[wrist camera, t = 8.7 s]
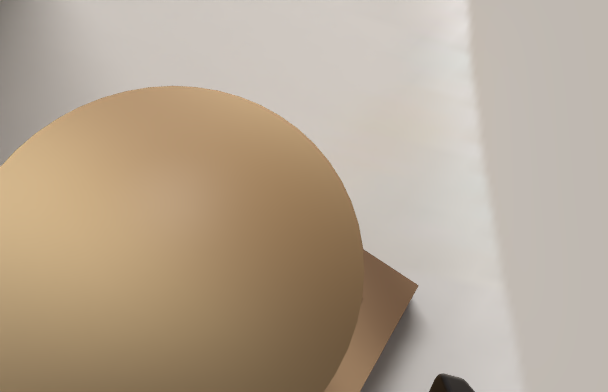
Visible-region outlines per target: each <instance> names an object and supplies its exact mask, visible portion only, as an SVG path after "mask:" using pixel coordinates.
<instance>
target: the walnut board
mask: <svg viewBox="0 0 608 392" xmlns="http://www.w3.org/2000/svg"><path fill="white" fill-rule="evenodd" d="M363 259H364V281H363V295H362V301H361V306H360V311H359V316H358V321H357V325H356V327H355V330H354V333H353V336H352V339H351V342H350V345H349V348H348V350H347V352H346V354H345V356H344V358H343V360H342V362H341V364H340V366H339V368H338V370H337V372H336V374H335V376H334V377H333V379H332V380H331V382H330V383H329V385H328V386H327V388H326V389H325V391H324V392H360V390H361V389H362V387H363V385H364V383H365V381H366V380H367V378H368V376H369V374H370V372H371V371H372V369H373V367H374V365H375V363H376V362H377V360H378V358H379V356H380V354H381V352H382V351H383V349H384V347H385V345H386V343H387V342H388V340H389V338H390V336H391V334H392V333H393V331H394V329H395V327H396V325H397V324H398V322H399V320H400V318H401V316H402V315H403V313H404V311H405V309H406V307H407V306H408V304H409V302H410V300H411V298H412V296H413V295H414V293H415V291H416V289H417V287H418V286H419V285H417V284H416V283H414V282H412V281H411V280H409V279H408V278H406V277H405V276H403V275H402V274H400V273H399V272H397V271H396V270H394V269H393V268H391V267H390V266H388V265H386V264H385V263H383V262H382V261H380V260H379V259H377V258H376V257H374V256H373V255H371V254H370V253H368V252H367V251H365V250H364V249H363Z"/></svg>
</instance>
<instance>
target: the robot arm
mask: <svg viewBox="0 0 608 392" xmlns="http://www.w3.org/2000/svg"><path fill="white" fill-rule="evenodd" d="M429 392H474V390H473V389H472V388H471V387H470V386H469V384H468V383H467V382H466V381H465V380H464V379H462V378H459V377H455V376H451V375H447V374H439V375H438V376H437V377H436V378H435V380H434V382H433V384H432V387H431V389H430V391H429Z"/></svg>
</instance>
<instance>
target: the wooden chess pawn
mask: <svg viewBox="0 0 608 392" xmlns="http://www.w3.org/2000/svg"><path fill="white" fill-rule="evenodd" d="M363 281H364V259H363V245H362V240H361V235H360V229H359V224H358V221H357V218H356V215H355V212H354V209H353V205H352V202H351V200H350V198H349V196H348V194H347V191H346V189H345V187H344V185H343V183H342V181H341V179H340V178H339V176H338V175H337V173H336V172H335V170H334V168H333V167H332V165H331V164H330V162H329V161H328V160H327V158H326V157H325V156H324V155H323V154H322V152H321V151H320V150H319V149H318V148H317V147H316V145H315V144H314V143H313V142H312V141H311V140H309V139H308V138H307V137H306V136H305V135H304V134H303V133H302V132H301V131H300V130H299V129H297V128H296V127H295V126H293V125H292V124H291V123H289V122H288V121H286V120H285V119H284V118H282V117H281V116H279V115H277V114H276V113H274V112H272V111H270V110H268V109H266V108H265V107H263V106H261V105H259V104H256V103H254V102H251V101H249V100H246V99H244V98H242V97H239V96H235V95H232V94H228V93H224V92H221V91H217V90H210V89H204V88H198V87H183V86H164V87H148V88H143V89H137V90H131V91H125V92H122V93H118V94H115V95H111V96H107V97H104V98H101V99H98V100H96V101H93V102H91V103H88V104H86V105H83V106H81V107H78V108H77V109H75V110H73V111H71V112H69V113H67V114H65V115H64V116H62V117H60V118H58V119H56V120H55V121H53V122H52V123H50V124H49V125H47V126H46V127H44V128H43V129H41V130H40V131H39V132H37V133H36V134H34V135H33V136H32V137H31V138H30V139H29V140H27V141H26V142H25V143H24V144H23V145H22V146H20V147H19V148H18V149H17V150H16V151H15V152H14V153H13V154H12V155H11V156H10V157H9V158H8V159H7V160H6V161H5V163H4V164H3V165H2V166H1V167H0V392H324V391H325V389H326V388H327V386H328V385H329V383H330V382H331V380H332V379H333V377H334V376H335V374H336V372H337V370H338V368H339V366H340V364H341V362H342V360H343V358H344V356H345V354H346V352H347V350H348V348H349V345H350V342H351V339H352V336H353V333H354V330H355V327H356V325H357V321H358V316H359V311H360V306H361V301H362V295H363Z"/></svg>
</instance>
